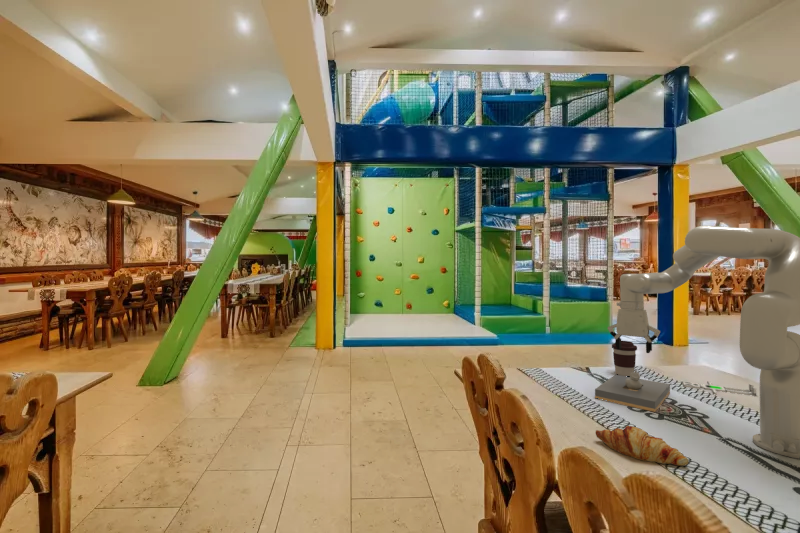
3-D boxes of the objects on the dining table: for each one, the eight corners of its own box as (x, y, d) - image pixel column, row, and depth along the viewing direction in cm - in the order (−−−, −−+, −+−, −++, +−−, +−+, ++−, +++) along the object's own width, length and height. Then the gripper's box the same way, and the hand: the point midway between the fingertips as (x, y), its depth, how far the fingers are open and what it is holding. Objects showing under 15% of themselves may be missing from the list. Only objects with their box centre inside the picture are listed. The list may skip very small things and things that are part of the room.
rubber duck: (623, 389, 141) (627, 368, 140) (624, 383, 147) (628, 364, 146) (640, 393, 138) (644, 373, 137) (641, 388, 144) (644, 368, 143)
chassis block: (655, 411, 126) (655, 401, 126) (595, 398, 140) (594, 389, 140) (669, 393, 145) (669, 384, 145) (615, 382, 158) (615, 374, 158)
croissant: (689, 477, 94) (692, 444, 96) (685, 473, 87) (688, 438, 90) (597, 448, 108) (602, 420, 111) (588, 442, 102) (592, 413, 104)
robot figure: (749, 389, 150) (681, 380, 162) (749, 381, 150) (681, 373, 162) (760, 401, 136) (684, 391, 148) (760, 392, 136) (684, 383, 148)
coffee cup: (607, 373, 172) (606, 340, 172) (621, 370, 177) (620, 339, 177) (628, 379, 163) (627, 344, 163) (642, 376, 168) (642, 342, 168)
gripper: (604, 305, 146) (605, 349, 146) (657, 307, 134) (658, 355, 133) (610, 304, 151) (611, 346, 151) (661, 306, 139) (662, 352, 139)
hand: (633, 350), depth 142 cm, fingers open, 9 cm apart
